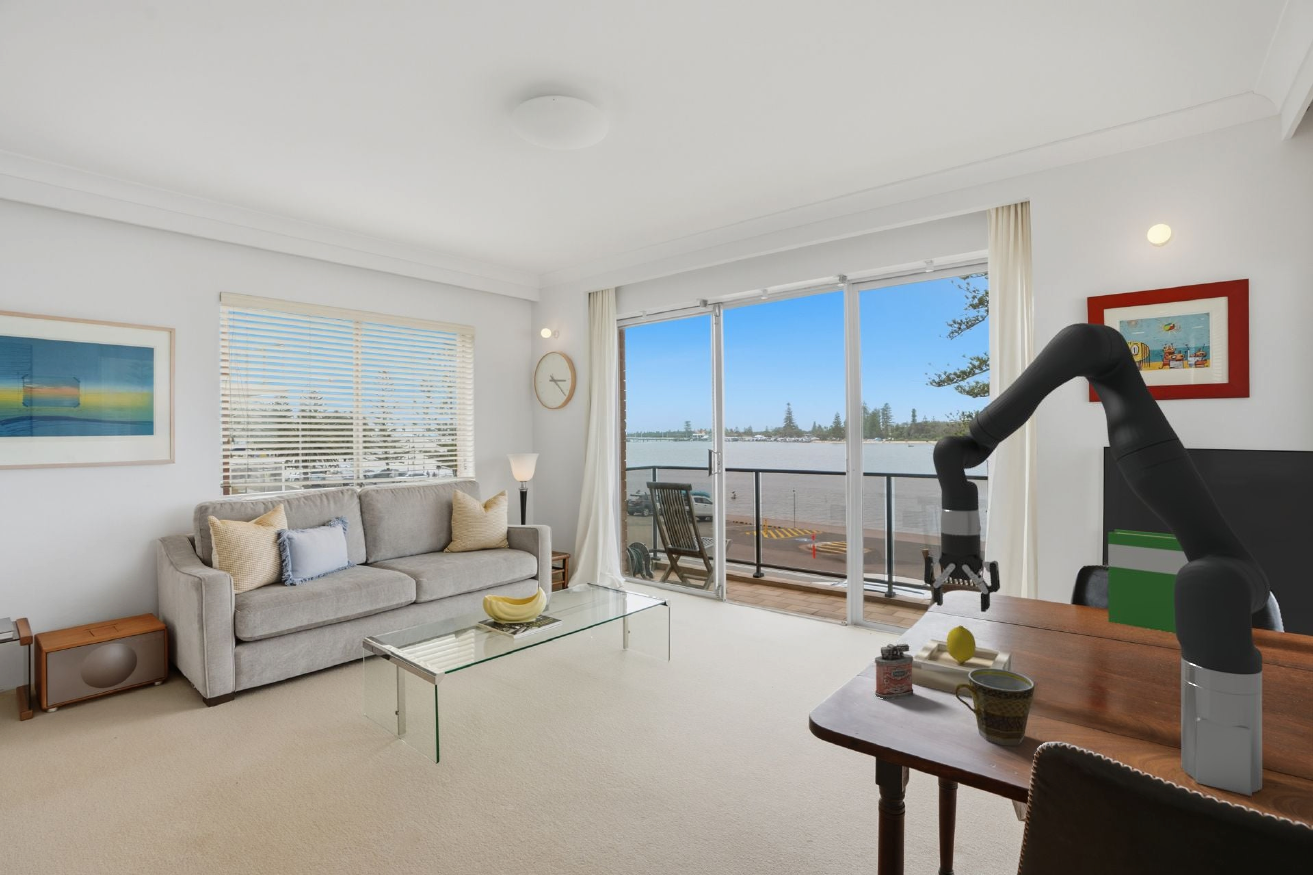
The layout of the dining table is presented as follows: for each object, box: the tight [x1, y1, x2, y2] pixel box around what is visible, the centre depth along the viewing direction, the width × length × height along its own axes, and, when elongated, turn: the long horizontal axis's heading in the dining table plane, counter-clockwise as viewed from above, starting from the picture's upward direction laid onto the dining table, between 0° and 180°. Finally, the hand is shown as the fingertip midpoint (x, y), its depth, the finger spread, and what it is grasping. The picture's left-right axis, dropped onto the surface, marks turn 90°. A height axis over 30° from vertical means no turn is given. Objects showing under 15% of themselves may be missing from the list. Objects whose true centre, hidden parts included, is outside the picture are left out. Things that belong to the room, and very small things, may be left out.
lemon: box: [946, 625, 977, 664], centre depth 136 cm, size 6×6×8 cm
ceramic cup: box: [954, 669, 1035, 747], centre depth 111 cm, size 13×10×10 cm
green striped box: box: [1107, 529, 1189, 635], centre depth 170 cm, size 18×7×24 cm, turn 43°
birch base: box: [912, 638, 1012, 698], centre depth 136 cm, size 16×16×6 cm
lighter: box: [874, 643, 914, 700], centre depth 129 cm, size 8×3×10 cm, turn 105°
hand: (961, 608), depth 136 cm, fingers open, 8 cm apart
